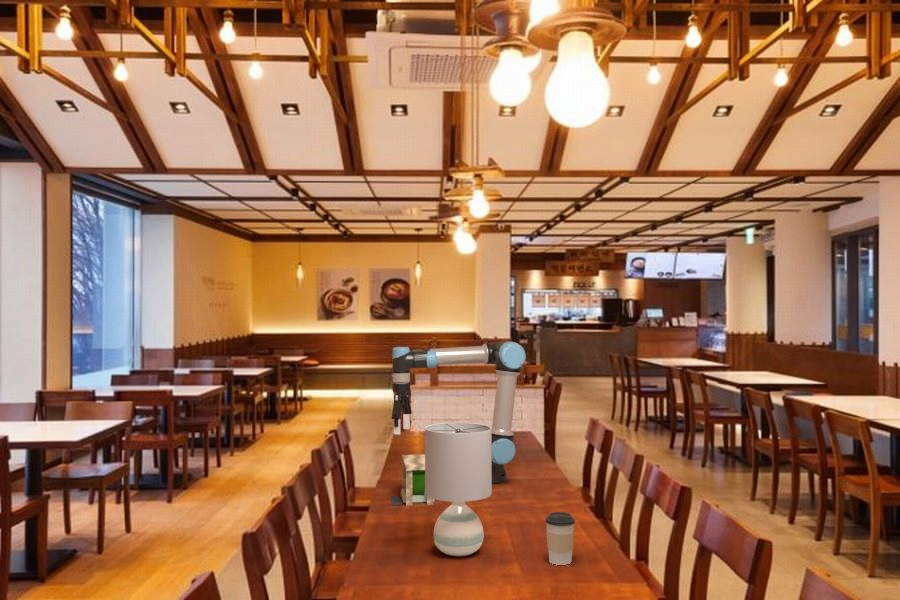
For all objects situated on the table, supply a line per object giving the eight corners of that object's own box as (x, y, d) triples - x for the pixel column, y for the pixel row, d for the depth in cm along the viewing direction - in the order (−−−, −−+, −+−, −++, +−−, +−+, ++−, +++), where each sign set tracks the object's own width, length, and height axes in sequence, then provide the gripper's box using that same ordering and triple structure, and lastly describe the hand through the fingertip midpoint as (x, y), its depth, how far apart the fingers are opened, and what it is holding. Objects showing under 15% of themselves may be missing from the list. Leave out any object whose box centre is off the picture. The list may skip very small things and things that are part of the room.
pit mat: (399, 496, 308) (399, 495, 308) (402, 505, 294) (402, 504, 294) (390, 496, 308) (390, 496, 308) (392, 505, 294) (392, 505, 294)
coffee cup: (543, 557, 231) (542, 510, 232) (571, 556, 232) (570, 509, 232) (549, 567, 222) (549, 518, 223) (578, 566, 223) (578, 517, 223)
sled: (472, 491, 314) (472, 473, 314) (478, 499, 301) (478, 480, 301) (401, 494, 310) (400, 475, 310) (403, 502, 297) (403, 483, 297)
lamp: (440, 567, 223) (440, 435, 223) (415, 546, 243) (415, 425, 243) (503, 557, 231) (503, 430, 232) (474, 538, 251) (473, 421, 252)
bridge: (427, 491, 317) (427, 454, 317) (433, 505, 293) (433, 465, 293) (402, 492, 315) (402, 455, 316) (406, 506, 292) (406, 466, 292)
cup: (425, 502, 299) (425, 475, 299) (404, 501, 301) (404, 474, 301) (430, 496, 308) (430, 470, 308) (409, 495, 310) (409, 469, 310)
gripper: (401, 379, 329) (402, 426, 329) (383, 385, 305) (384, 436, 305) (417, 379, 327) (418, 427, 327) (400, 385, 303) (401, 436, 303)
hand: (402, 431), depth 316 cm, fingers open, 13 cm apart
